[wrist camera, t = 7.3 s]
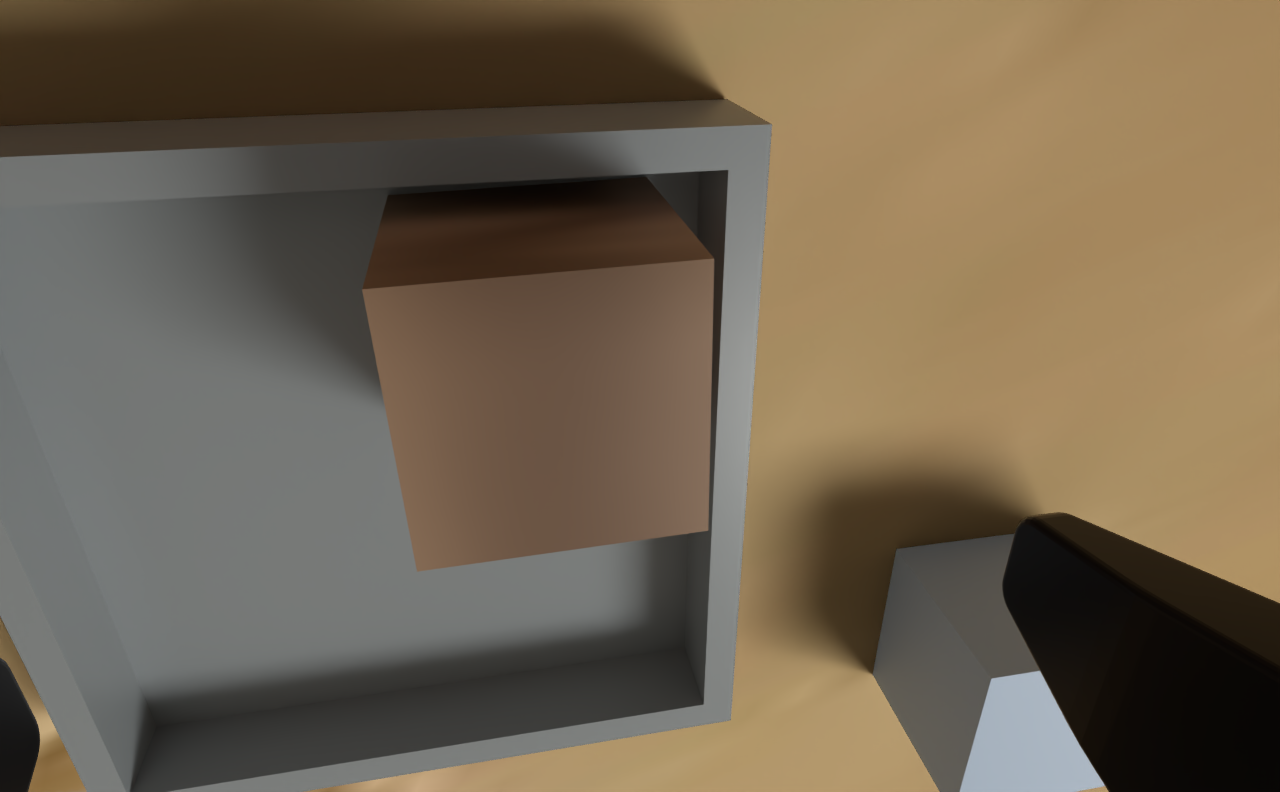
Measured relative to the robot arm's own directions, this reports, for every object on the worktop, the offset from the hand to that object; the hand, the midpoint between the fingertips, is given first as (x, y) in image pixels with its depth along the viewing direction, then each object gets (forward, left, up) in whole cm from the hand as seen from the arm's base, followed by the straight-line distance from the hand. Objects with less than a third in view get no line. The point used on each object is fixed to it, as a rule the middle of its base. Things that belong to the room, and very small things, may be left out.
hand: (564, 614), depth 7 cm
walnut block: (0, 0, -7) cm, 7 cm away
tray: (+2, +3, -8) cm, 9 cm away
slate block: (-10, +9, -8) cm, 16 cm away
